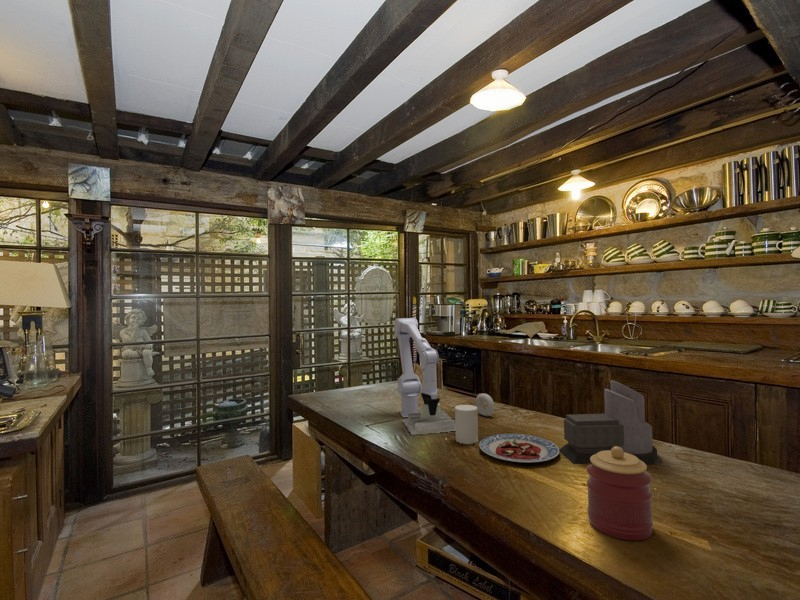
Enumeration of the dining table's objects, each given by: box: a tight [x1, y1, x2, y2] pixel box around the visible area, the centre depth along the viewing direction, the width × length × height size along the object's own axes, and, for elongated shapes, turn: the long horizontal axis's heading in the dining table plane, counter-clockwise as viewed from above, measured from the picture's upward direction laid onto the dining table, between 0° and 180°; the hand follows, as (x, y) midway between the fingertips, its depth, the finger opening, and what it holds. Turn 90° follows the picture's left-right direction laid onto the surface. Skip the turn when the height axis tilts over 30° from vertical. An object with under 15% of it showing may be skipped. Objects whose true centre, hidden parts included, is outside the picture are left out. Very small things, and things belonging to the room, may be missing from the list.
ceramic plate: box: [478, 433, 560, 463], centre depth 136 cm, size 26×26×3 cm
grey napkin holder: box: [559, 379, 664, 466], centre depth 131 cm, size 30×16×24 cm, turn 91°
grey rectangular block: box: [419, 402, 442, 419], centre depth 166 cm, size 2×8×8 cm, turn 99°
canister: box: [586, 446, 654, 542], centre depth 91 cm, size 13×13×18 cm
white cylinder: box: [454, 404, 479, 445], centre depth 149 cm, size 8×8×12 cm
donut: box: [475, 393, 495, 417], centre depth 179 cm, size 10×4×10 cm, turn 35°
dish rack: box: [402, 410, 456, 436], centre depth 166 cm, size 18×20×4 cm
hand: (430, 412), depth 166 cm, fingers open, 7 cm apart
